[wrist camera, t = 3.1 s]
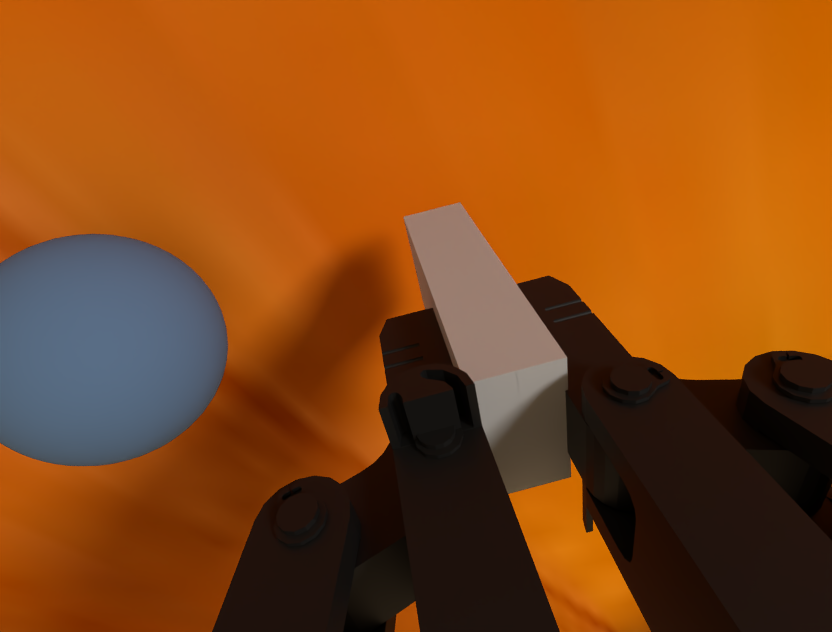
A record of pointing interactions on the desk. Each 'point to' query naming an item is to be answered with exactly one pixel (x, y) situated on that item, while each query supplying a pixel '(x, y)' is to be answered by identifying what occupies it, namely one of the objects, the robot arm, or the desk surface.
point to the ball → (103, 349)
